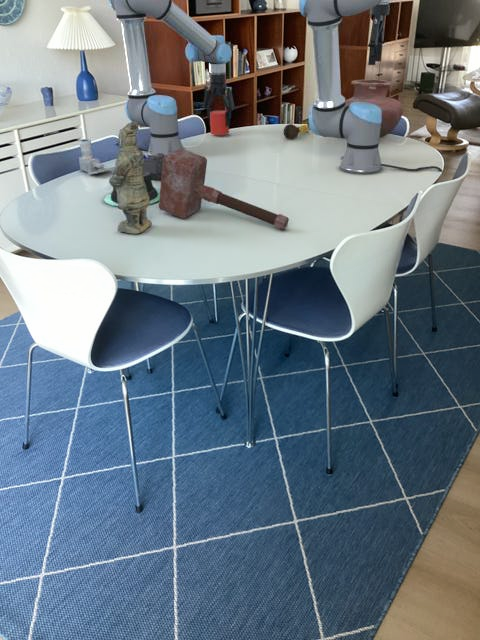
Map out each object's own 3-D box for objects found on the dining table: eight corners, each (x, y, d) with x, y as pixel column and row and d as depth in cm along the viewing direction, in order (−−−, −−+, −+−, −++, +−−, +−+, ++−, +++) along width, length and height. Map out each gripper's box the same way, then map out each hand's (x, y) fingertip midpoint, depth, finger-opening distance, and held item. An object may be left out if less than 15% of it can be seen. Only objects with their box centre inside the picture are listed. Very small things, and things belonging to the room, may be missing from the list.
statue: (131, 220, 168) (117, 116, 152) (158, 224, 164) (147, 118, 149) (109, 233, 159) (93, 124, 144) (138, 237, 156) (124, 126, 140)
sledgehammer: (299, 190, 156) (179, 147, 167) (285, 200, 148) (161, 154, 160) (286, 244, 166) (174, 200, 177) (272, 256, 158) (156, 209, 170)
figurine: (325, 121, 268) (300, 123, 249) (324, 137, 271) (299, 140, 252) (301, 118, 274) (275, 120, 255) (300, 134, 277) (274, 137, 258)
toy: (139, 150, 209) (172, 153, 203) (141, 172, 213) (174, 177, 207) (125, 155, 202) (159, 159, 196) (128, 178, 206) (161, 183, 200)
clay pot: (397, 133, 263) (404, 75, 251) (402, 148, 238) (410, 85, 225) (333, 131, 268) (336, 75, 256) (330, 146, 243) (334, 85, 230)
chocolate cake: (91, 202, 180) (113, 186, 197) (142, 231, 182) (160, 212, 199) (107, 162, 172) (129, 148, 190) (160, 192, 174) (177, 176, 192)
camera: (89, 136, 215) (112, 142, 207) (93, 167, 222) (116, 174, 213) (70, 140, 210) (93, 147, 201) (75, 171, 216) (97, 179, 207)
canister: (212, 131, 271) (211, 110, 266) (229, 131, 270) (229, 110, 265) (209, 135, 263) (208, 113, 259) (227, 135, 263) (227, 113, 258)
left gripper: (242, 73, 251) (242, 125, 263) (202, 71, 261) (204, 121, 272) (233, 75, 246) (234, 128, 257) (193, 73, 255) (196, 124, 267)
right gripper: (376, 3, 229) (370, 59, 240) (364, 4, 209) (359, 66, 220) (394, 3, 226) (388, 60, 237) (384, 4, 207) (378, 66, 217)
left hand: (219, 124), depth 265 cm, fingers closed on canister, 9 cm apart
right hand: (374, 63), depth 229 cm, fingers open, 13 cm apart
